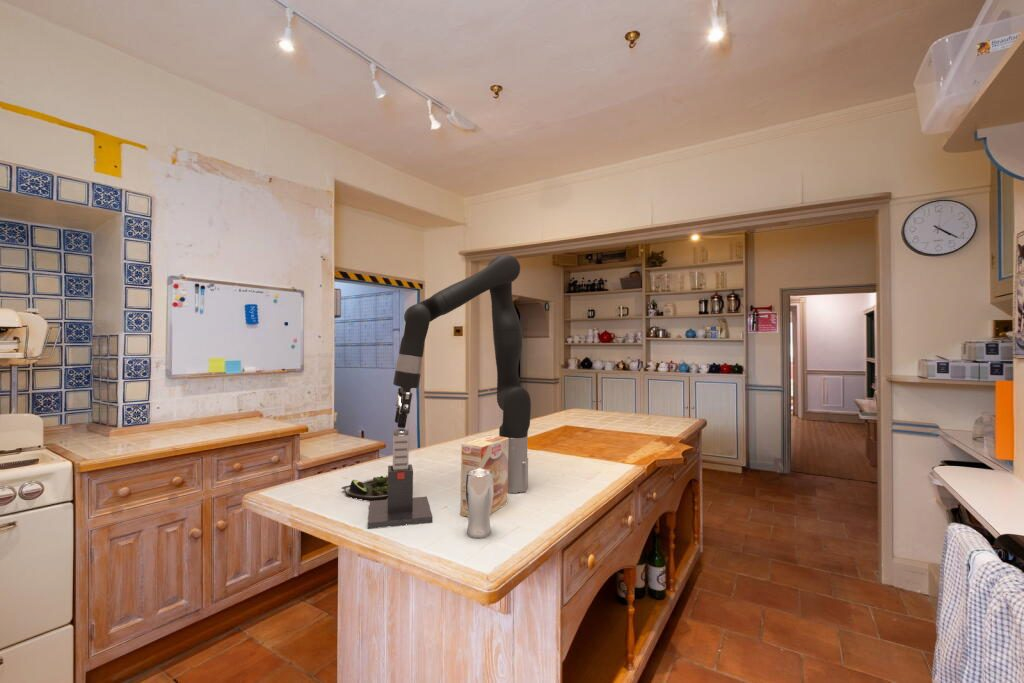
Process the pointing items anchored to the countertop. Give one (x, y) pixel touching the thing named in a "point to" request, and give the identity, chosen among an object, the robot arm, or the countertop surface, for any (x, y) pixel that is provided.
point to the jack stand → (399, 503)
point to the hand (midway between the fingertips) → (399, 425)
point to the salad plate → (368, 489)
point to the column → (400, 449)
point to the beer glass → (479, 502)
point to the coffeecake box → (486, 467)
